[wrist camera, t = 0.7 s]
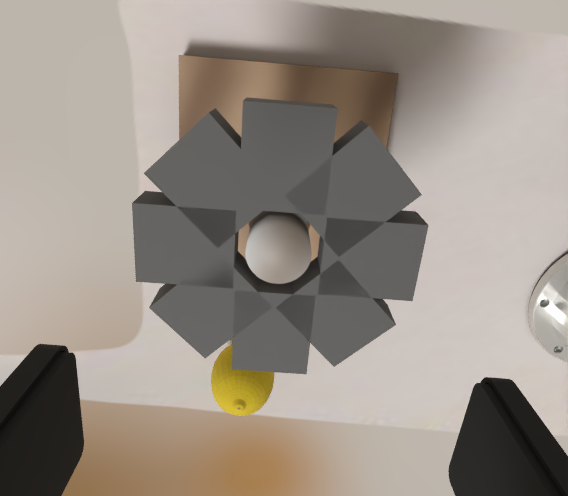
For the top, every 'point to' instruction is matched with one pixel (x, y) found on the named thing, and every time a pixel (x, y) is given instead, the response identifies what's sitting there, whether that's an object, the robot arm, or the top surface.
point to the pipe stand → (290, 87)
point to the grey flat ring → (279, 198)
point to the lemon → (239, 386)
